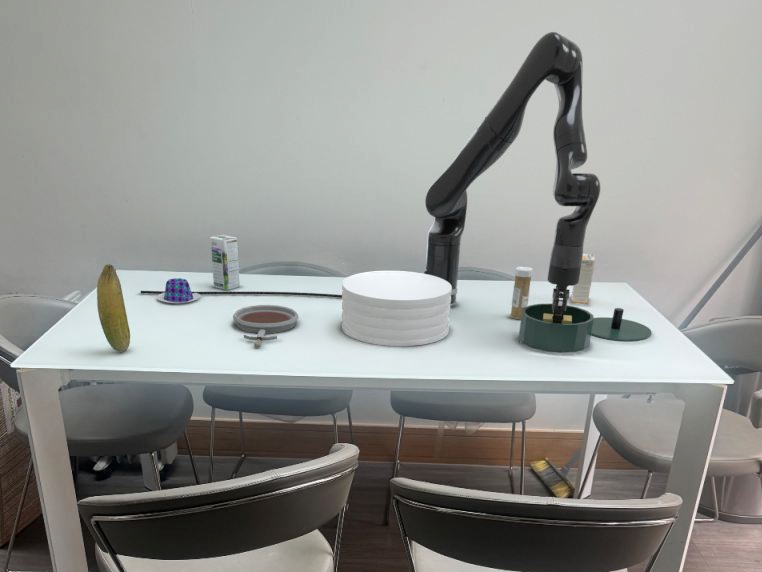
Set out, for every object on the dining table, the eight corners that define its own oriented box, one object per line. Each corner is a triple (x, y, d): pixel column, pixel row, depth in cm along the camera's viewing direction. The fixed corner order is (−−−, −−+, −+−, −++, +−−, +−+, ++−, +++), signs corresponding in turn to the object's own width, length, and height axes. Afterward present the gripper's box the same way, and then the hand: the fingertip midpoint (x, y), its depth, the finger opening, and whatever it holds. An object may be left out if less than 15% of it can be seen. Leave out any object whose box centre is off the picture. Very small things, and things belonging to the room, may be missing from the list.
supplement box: (587, 305, 224) (595, 260, 217) (571, 304, 225) (578, 258, 218) (587, 298, 231) (594, 253, 224) (571, 296, 232) (578, 252, 225)
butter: (541, 334, 192) (543, 318, 190) (541, 328, 196) (543, 313, 194) (569, 336, 191) (571, 321, 189) (569, 331, 195) (571, 315, 193)
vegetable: (124, 357, 176) (111, 269, 165) (99, 355, 177) (84, 267, 166) (136, 348, 181) (124, 262, 170) (111, 346, 182) (98, 260, 171)
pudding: (206, 295, 221) (205, 276, 218) (190, 306, 211) (188, 287, 208) (167, 291, 222) (165, 273, 220) (149, 303, 212) (147, 284, 209)
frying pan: (220, 338, 182) (237, 302, 205) (221, 350, 184) (238, 313, 207) (292, 340, 183) (300, 304, 206) (292, 352, 184) (301, 314, 208)
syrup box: (213, 287, 228) (208, 236, 220) (227, 283, 232) (223, 233, 225) (226, 290, 225) (223, 239, 218) (240, 286, 229) (237, 236, 222)
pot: (516, 350, 189) (520, 320, 185) (520, 328, 204) (524, 300, 200) (589, 357, 186) (594, 327, 182) (587, 335, 201) (592, 307, 197)
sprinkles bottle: (527, 320, 210) (534, 270, 203) (511, 319, 210) (517, 270, 203) (524, 315, 214) (530, 266, 207) (508, 314, 214) (514, 265, 207)
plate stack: (324, 335, 193) (323, 290, 187) (366, 307, 216) (367, 265, 210) (428, 352, 185) (431, 306, 179) (461, 321, 207) (465, 278, 201)
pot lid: (579, 339, 198) (583, 316, 194) (578, 318, 213) (582, 296, 210) (653, 346, 195) (659, 323, 192) (647, 324, 210) (652, 302, 207)
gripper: (550, 255, 191) (541, 322, 200) (549, 268, 179) (539, 339, 188) (581, 257, 190) (570, 324, 199) (581, 271, 178) (570, 342, 187)
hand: (555, 331), depth 193 cm, fingers closed on butter, 4 cm apart
